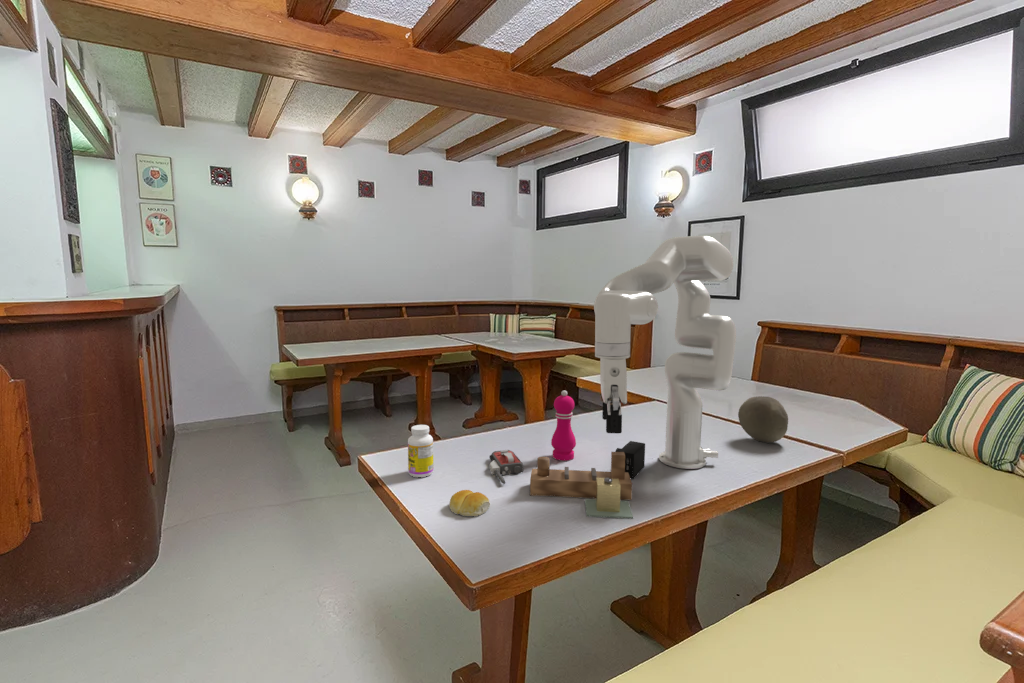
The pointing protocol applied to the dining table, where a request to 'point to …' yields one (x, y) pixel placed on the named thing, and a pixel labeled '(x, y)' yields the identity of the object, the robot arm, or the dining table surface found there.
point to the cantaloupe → (763, 419)
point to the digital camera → (633, 457)
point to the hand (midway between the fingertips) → (611, 425)
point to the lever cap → (608, 494)
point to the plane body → (577, 479)
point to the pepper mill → (563, 428)
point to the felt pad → (592, 512)
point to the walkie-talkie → (505, 464)
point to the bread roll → (469, 503)
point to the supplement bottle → (420, 452)
